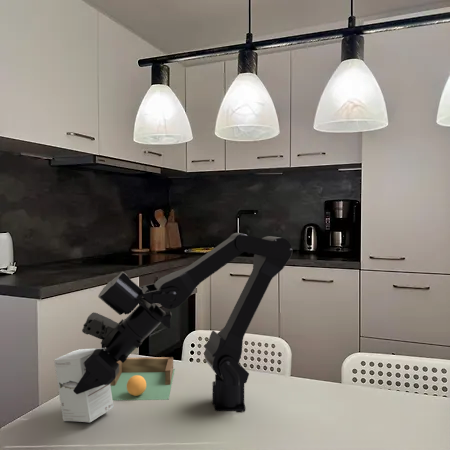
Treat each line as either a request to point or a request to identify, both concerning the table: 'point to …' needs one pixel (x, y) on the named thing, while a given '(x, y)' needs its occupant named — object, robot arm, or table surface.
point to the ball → (136, 385)
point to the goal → (146, 367)
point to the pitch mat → (152, 392)
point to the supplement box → (86, 401)
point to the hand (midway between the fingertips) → (82, 382)
